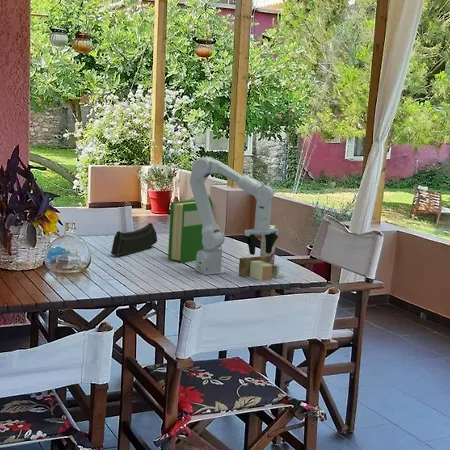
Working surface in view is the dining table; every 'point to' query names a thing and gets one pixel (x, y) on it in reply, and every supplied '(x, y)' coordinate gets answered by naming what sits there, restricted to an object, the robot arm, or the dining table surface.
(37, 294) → the dining table surface
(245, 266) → the shelf wall
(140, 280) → the dining table surface
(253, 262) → the boxed book
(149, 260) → the dining table surface
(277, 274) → the bookend
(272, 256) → the candy bar box
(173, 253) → the hardback book
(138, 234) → the magazine
